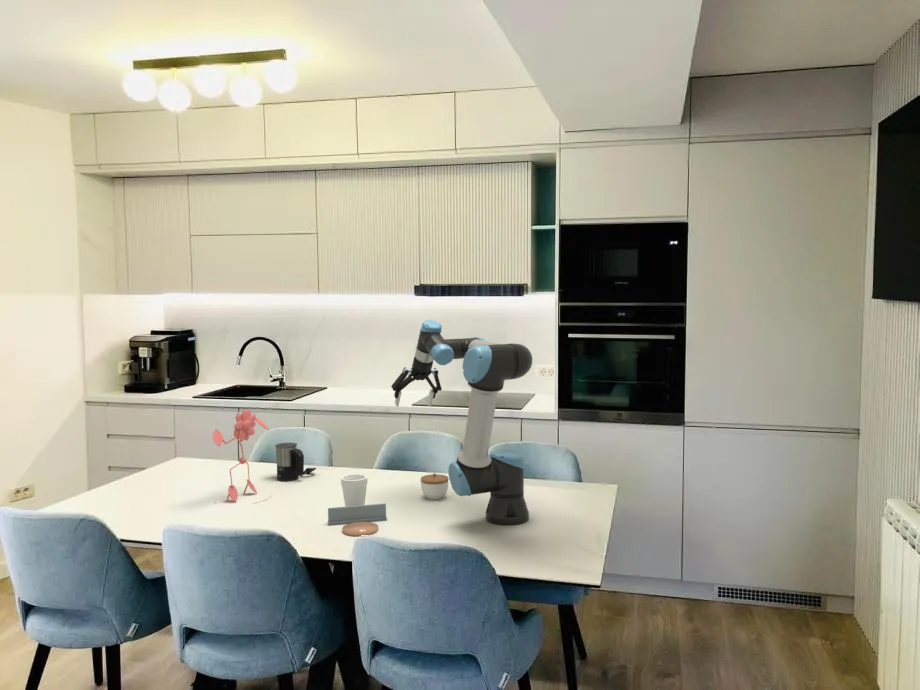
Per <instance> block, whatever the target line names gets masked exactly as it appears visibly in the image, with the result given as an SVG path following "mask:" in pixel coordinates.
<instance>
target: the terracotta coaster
mask: <svg viewBox="0 0 920 690" xmlns="http://www.w3.org/2000/svg"><path fill="white" fill-rule="evenodd" d="M378 532H379V525H378V524H377V523H375V522H354V523H350V524H344V526H342V534H344V535H345V536H349V537H362V536H361V535H368V536H371V535H374V534H376V533H378Z"/></svg>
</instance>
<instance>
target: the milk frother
mask: <svg viewBox="0 0 920 690" xmlns="http://www.w3.org/2000/svg"><path fill="white" fill-rule="evenodd" d="M297 445H298V443H296V442H281V443H277V444H275V445H274V447H275V456H276V457H275V458H276V459H275V460H276V481H279V482H290V481H294V480H298V479H299V477H300V476H303V475H306V474H307V475H309V474H311V473H312V472H314V471H315V470H317V467H307V468H305V463H304V462H305V460H304V459H305V457H304V453H303V451H302V450H301V449H299V448H298V447H297ZM304 468H305V469H304Z"/></svg>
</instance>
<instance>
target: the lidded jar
mask: <svg viewBox="0 0 920 690" xmlns="http://www.w3.org/2000/svg"><path fill="white" fill-rule="evenodd" d="M449 481H450V479H449V475H445V474H440V473H439V474H438V473H435V472H434V473H432V474H427V475H422V476H421V477H420V485H421V486H420V487H421V491H422V494H423V495H424V496H425V497H426V499H427V500H431V501H432V500H433V501H436V500H441V499H443V498H444V496H445V495H446V494H447V492H448V490H449Z"/></svg>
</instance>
